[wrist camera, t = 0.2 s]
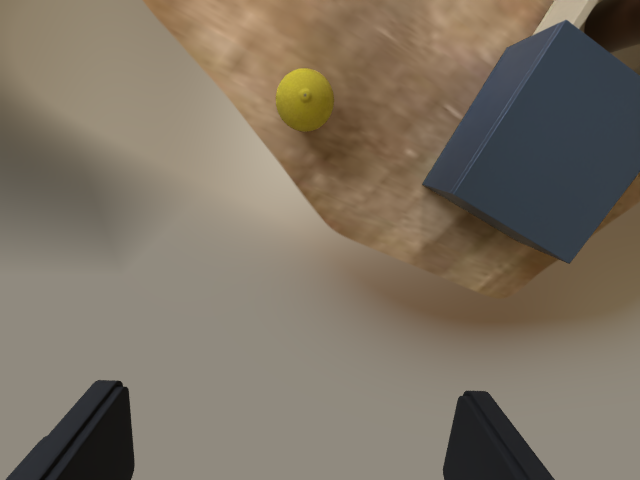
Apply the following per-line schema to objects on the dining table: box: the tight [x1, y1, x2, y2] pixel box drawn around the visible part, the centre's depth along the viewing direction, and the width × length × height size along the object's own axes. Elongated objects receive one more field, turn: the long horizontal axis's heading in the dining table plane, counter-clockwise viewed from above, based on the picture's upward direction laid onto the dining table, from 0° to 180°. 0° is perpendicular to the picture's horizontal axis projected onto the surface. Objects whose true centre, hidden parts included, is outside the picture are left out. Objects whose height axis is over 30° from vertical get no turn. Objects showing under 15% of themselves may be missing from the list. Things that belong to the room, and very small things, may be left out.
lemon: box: [276, 68, 334, 132], centre depth 33 cm, size 6×6×8 cm
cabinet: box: [422, 20, 640, 263], centre depth 35 cm, size 16×14×8 cm
